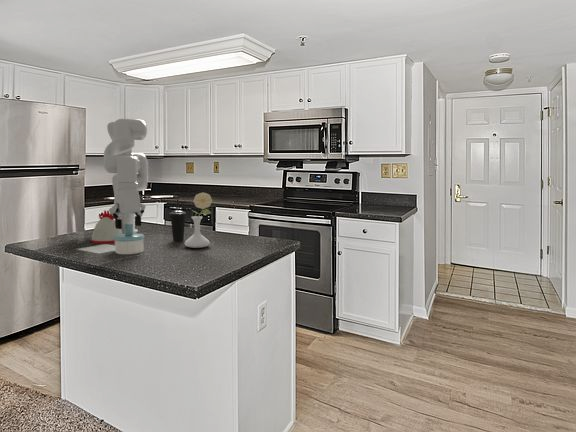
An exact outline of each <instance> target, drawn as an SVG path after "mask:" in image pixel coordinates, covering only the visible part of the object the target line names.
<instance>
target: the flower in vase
mask: <svg viewBox="0 0 576 432" xmlns="http://www.w3.org/2000/svg"><path fill="white" fill-rule="evenodd" d="M212 202H213V199H212V197H211V195H210V193H207V192H202V191H201V192H199V193H198V194H195V196H194V199H193V203H194V205H195V206H194V207H196V208H198V209H201V211H200V212H199V213H198V212H197V211H195V210H192V209H191V208H190V209H191V211H192V212H193V213H195V214H198V216H197V215H196V216H191V219H192V220H193V225H194V232H193V234H192V235H191V236H190V237H189V238H187V239H186V240H185V242H184V245H185V247H188V248H192V249H200V248H205V247H208V246H210V244H211V242H210V240H209V239H208V238H206V237H205V235H203V234H202V233H201V230H200V229H201V228H200V226H201V220H202V219H203V216H202V215H201V214H202V213H203V215H210V214H212V212H211V211H210V209H207V208H209V207H211V204H212ZM200 215H201V216H200Z"/></svg>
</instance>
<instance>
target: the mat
mask: <svg viewBox="0 0 576 432" xmlns="http://www.w3.org/2000/svg"><path fill="white" fill-rule="evenodd" d="M76 250H77V251H84V252H88V253H94V254H98V255H99V254H104V253H109V252H115V244H110V243H101V244H97V245H92V246H86V247H81V248H77V249H76Z"/></svg>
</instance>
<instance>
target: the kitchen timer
mask: <svg viewBox="0 0 576 432" xmlns="http://www.w3.org/2000/svg"><path fill="white" fill-rule="evenodd" d="M98 217H99V219H100V220H98V222H97V223H96V224H95V226H94V228H93V232H92V235H91V243H95V244H113V243H114V244H115V240H114V236H115V235H119V234H122V231H121V229H116V226H115V219H114V218H113V217H112V216H111V213H110V211H109V209H108V210H106V209H105V210H104V211H103V212H101V213H100V214H98Z"/></svg>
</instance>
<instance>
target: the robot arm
mask: <svg viewBox="0 0 576 432" xmlns="http://www.w3.org/2000/svg"><path fill="white" fill-rule="evenodd" d="M106 128H107V133H108V135H109V137H110V139H111V142H109V144H107V146H106V147H105V148H104V151H103V165H104V166H103V168H104V169H105V171H106V173H109V174H113V176H112V177H111V182H112V188H113V196H114V197H113V198H114V199H113V200H114V203H113V206H111V207H110V208H108V210H109V214H110V213H111V216H112V217H113V218H114V220H115V226H116V229H121V231H122V234H125V224H128V223H131V224H133V233H138V232H139V230H138V229H137V228H135V227H136V226H138V227H142V217H143V215H144V213H145V210H146V207H147V206H146V205H145V204H144V203H141V198H140V194H139V193H140V192H141V191H142V192H143V191H146V190H147V188H148V158H147V156H146V155H145V154H144V153H141V152H133V151H132V150H133V148H134V146H135V141H143V140H144V139H145V138H146V137H147V134H148V127H147V124H146V122H145V121H144V120H142V119H137V118H136V119H135V118H118V119H117V120H115V121H110V122H108V123H107V125H106Z"/></svg>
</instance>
